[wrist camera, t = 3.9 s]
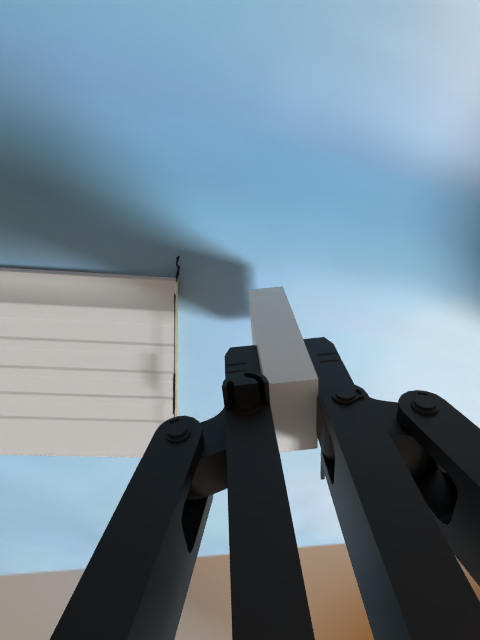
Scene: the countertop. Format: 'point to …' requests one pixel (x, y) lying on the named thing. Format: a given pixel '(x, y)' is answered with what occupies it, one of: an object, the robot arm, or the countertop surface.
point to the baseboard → (85, 361)
